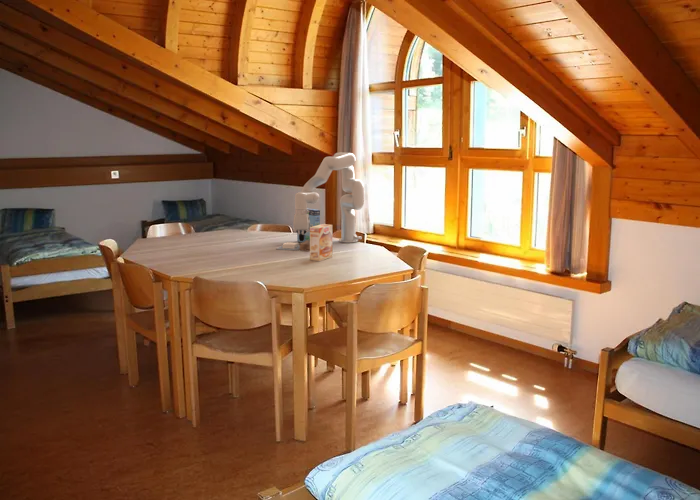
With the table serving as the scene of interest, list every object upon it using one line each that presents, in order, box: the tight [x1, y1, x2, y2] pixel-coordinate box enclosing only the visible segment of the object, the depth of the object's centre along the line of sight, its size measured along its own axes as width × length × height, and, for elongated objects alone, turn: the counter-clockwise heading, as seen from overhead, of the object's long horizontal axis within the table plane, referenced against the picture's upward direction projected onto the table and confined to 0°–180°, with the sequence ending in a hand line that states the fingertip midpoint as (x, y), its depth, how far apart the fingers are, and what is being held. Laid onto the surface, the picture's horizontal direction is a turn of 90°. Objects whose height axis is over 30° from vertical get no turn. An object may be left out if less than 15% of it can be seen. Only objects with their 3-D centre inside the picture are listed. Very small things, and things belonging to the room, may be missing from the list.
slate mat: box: [276, 244, 301, 251], centre depth 433 cm, size 15×16×1 cm
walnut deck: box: [299, 240, 310, 252], centre depth 430 cm, size 9×14×4 cm, turn 165°
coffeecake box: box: [309, 223, 333, 262], centre depth 397 cm, size 15×7×20 cm, turn 151°
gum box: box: [296, 207, 321, 243], centre depth 449 cm, size 20×5×23 cm, turn 39°
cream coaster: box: [282, 241, 300, 249], centre depth 433 cm, size 8×8×2 cm
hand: (301, 240), depth 431 cm, fingers closed
